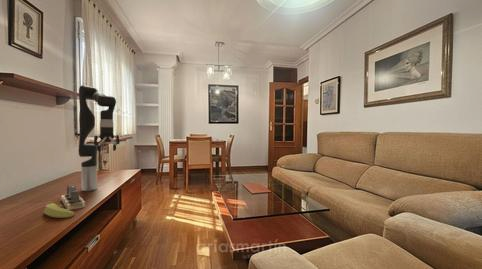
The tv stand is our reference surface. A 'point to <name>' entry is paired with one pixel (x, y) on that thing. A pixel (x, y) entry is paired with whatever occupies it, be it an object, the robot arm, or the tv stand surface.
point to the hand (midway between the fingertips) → (107, 151)
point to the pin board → (72, 200)
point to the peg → (72, 188)
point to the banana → (57, 211)
